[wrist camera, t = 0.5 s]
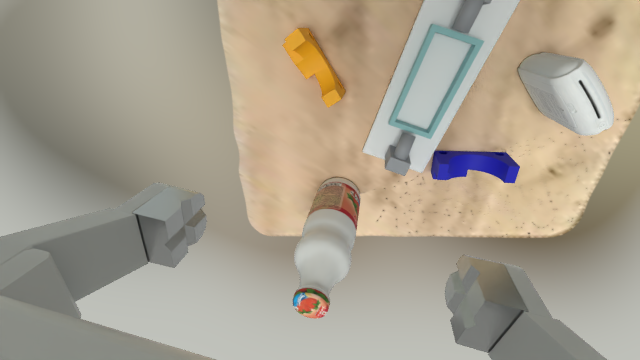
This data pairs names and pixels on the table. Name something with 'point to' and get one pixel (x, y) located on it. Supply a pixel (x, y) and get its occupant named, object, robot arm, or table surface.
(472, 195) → the table surface
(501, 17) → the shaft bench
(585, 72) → the photo printer
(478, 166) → the blue curved cradle
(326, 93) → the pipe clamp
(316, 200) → the fruit juice
